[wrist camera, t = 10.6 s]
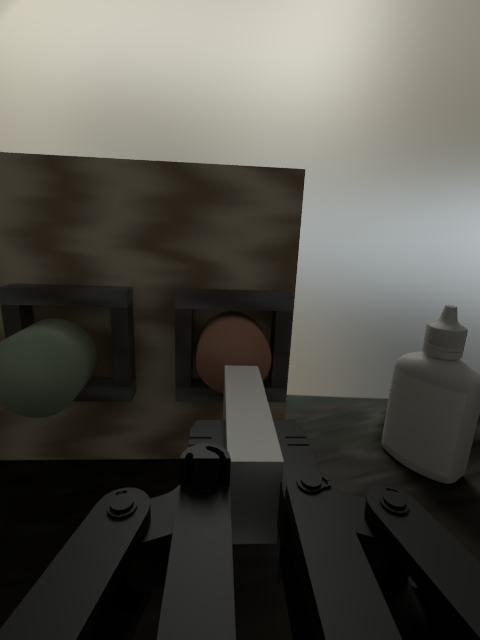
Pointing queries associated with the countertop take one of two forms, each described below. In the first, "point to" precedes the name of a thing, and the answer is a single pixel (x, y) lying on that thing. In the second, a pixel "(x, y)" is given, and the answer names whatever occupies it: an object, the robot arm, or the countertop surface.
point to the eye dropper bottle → (434, 404)
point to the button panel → (143, 289)
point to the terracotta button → (230, 347)
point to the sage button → (45, 367)
